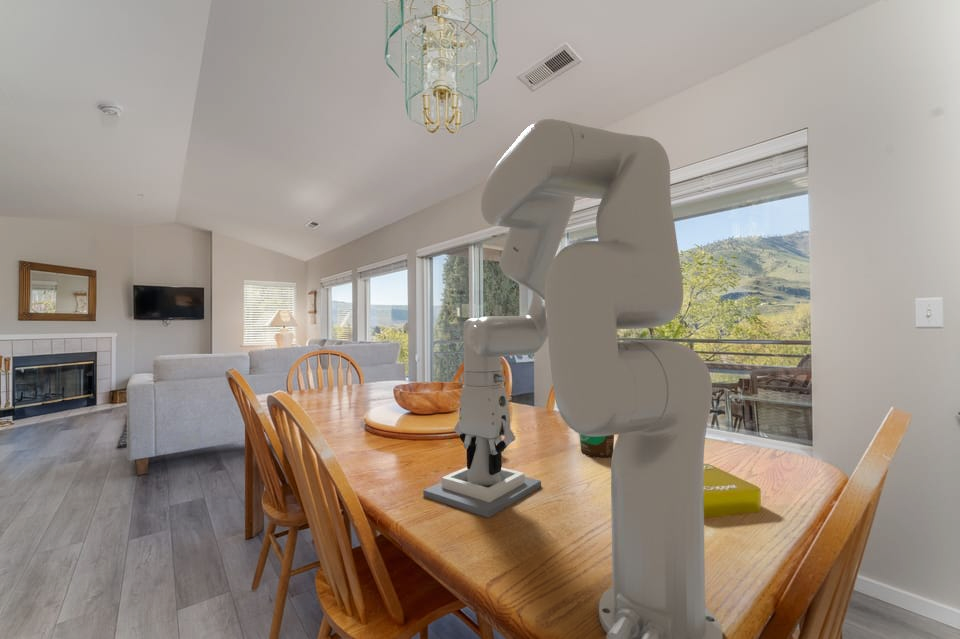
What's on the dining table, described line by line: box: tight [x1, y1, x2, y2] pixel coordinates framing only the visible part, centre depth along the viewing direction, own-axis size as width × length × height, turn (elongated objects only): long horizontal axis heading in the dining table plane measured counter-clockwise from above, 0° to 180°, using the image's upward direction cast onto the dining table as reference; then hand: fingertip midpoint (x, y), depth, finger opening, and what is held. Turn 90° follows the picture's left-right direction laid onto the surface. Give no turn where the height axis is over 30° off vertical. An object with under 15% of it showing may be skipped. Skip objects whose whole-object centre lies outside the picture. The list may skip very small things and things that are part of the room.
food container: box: [578, 433, 615, 459], centre depth 111 cm, size 12×6×10 cm, turn 25°
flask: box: [467, 437, 502, 486], centre depth 87 cm, size 7×7×10 cm
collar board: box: [422, 466, 542, 519], centre depth 87 cm, size 18×16×3 cm
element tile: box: [704, 463, 762, 519], centre depth 83 cm, size 15×15×5 cm
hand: (483, 469), depth 87 cm, fingers closed on flask, 4 cm apart
